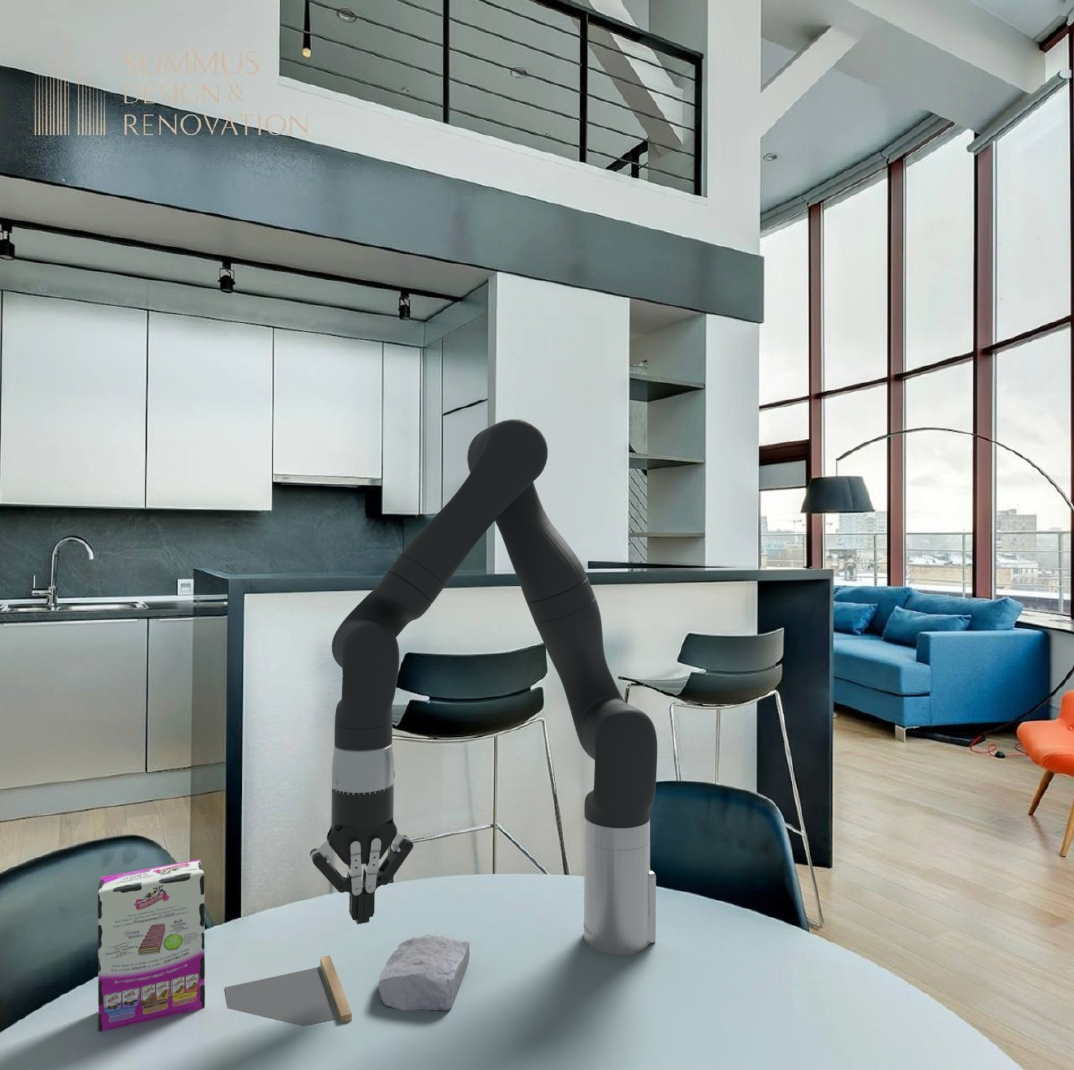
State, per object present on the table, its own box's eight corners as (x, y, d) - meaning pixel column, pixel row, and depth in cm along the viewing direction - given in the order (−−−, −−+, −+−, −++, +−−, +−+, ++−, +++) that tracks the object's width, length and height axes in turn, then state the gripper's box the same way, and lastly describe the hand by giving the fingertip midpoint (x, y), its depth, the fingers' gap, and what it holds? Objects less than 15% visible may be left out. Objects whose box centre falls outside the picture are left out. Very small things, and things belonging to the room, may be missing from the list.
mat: (316, 971, 102) (316, 967, 102) (334, 1023, 91) (334, 1018, 91) (224, 991, 97) (224, 987, 97) (231, 1048, 86) (231, 1043, 86)
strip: (329, 964, 103) (329, 955, 103) (351, 1024, 91) (351, 1013, 91) (320, 966, 103) (320, 957, 103) (341, 1026, 90) (341, 1016, 90)
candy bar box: (201, 991, 97) (202, 856, 97) (205, 1012, 93) (206, 872, 93) (97, 1015, 92) (98, 874, 92) (96, 1040, 88) (97, 891, 88)
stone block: (375, 1023, 93) (457, 1013, 92) (368, 982, 93) (450, 971, 92) (402, 972, 105) (475, 962, 104) (396, 935, 105) (469, 925, 104)
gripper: (407, 766, 104) (405, 898, 104) (303, 778, 99) (301, 917, 99) (423, 782, 98) (421, 924, 98) (313, 796, 92) (311, 945, 92)
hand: (361, 920), depth 98 cm, fingers closed
